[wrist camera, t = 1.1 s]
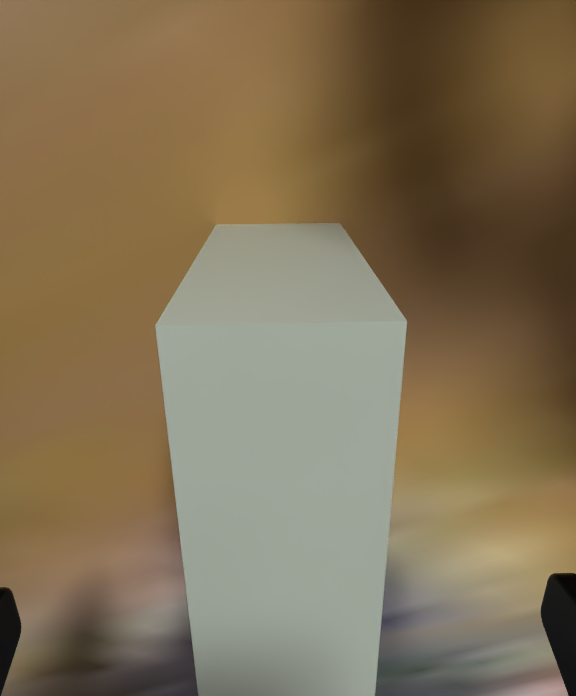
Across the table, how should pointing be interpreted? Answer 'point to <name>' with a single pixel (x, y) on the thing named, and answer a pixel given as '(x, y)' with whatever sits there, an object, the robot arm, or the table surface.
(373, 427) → the pale grey rectangular block
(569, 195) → the table surface
